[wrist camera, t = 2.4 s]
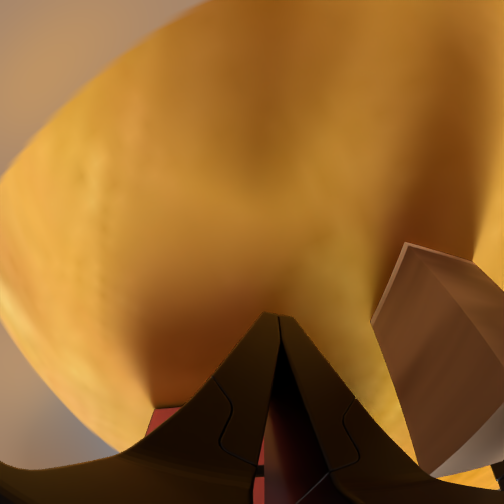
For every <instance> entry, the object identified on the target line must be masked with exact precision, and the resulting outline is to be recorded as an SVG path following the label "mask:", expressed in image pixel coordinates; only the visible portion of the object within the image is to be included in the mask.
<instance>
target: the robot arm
mask: <svg viewBox="0 0 504 504" xmlns="http://www.w3.org/2000/svg"><path fill="white" fill-rule="evenodd" d="M263 437H264V504H504V460H503V461H501V462H498V463H494V464H491V465H490V466H491V468H492V471H493V474H494V477H495V479H496V481H498V484H499V487H500V489H501V491H498V490H491V489H484V488H477V487H471V486H465V485H460V484H455V483H450V482H445V481H441V480H439V479H436V478H434V477H432V476H430V475H429V474H427V473H426V472H425V471H423V470H422V469H421V468H420V467H419V466H418V465H417V464H416V463H415V462H414V461H413V460H412V459H411V458H410V457H409V456H408V455H407V454H406V453H405V452H404V451H403V450H402V449H401V448H400V447H399V446H398V445H397V444H396V443H395V442H394V441H393V440H392V439H391V438H390V437H389V436H388V435H387V434H386V433H385V432H384V431H383V429H382V428H381V427H380V426H379V425H378V424H377V423H376V422H375V421H374V419H373V418H372V417H371V416H370V415H369V413H368V412H367V411H366V410H365V409H364V407H363V406H362V405H361V404H360V402H359V401H358V400H357V399H355V396H354V395H353V393H352V392H351V391H350V390H349V388H348V387H347V386H346V384H345V383H344V382H343V381H342V379H341V378H340V377H339V375H338V374H337V373H336V372H335V370H334V369H333V368H332V366H331V365H330V364H329V363H328V361H327V360H326V359H325V357H324V356H323V355H322V354H321V352H320V351H319V350H318V348H317V347H316V346H315V345H314V343H313V342H312V341H311V339H310V338H309V337H308V336H307V334H306V333H305V332H304V330H303V329H302V328H301V327H300V325H299V324H298V323H297V321H296V320H295V319H294V318H293V317H290V316H285V315H279V316H278V315H277V314H275V313H270V312H262V314H261V315H260V316H259V317H258V319H257V320H256V321H255V322H254V324H253V325H252V326H251V327H250V329H249V330H248V331H247V332H246V334H245V335H244V336H243V337H242V339H241V340H240V341H239V342H238V344H237V345H236V346H235V347H234V349H233V350H232V351H231V352H230V353H229V355H228V356H227V357H226V358H225V360H224V361H223V362H222V363H221V364H220V366H219V367H218V368H217V369H216V370H215V372H214V373H213V374H212V375H211V377H210V378H209V379H208V380H207V381H206V382H205V383H204V385H203V386H202V387H201V388H200V389H199V390H198V391H197V392H196V393H195V394H194V396H193V397H192V398H191V399H190V400H189V401H188V402H186V403H185V404H184V405H183V406H182V407H181V408H180V409H179V410H177V411H176V412H175V413H174V414H173V415H172V416H170V417H169V418H168V419H167V420H165V421H164V422H163V423H162V424H160V425H159V426H158V427H157V428H155V429H154V430H153V431H152V432H150V433H149V434H148V435H146V436H145V437H144V438H143V439H141V440H140V441H139V442H137V443H136V444H135V445H133V446H132V447H130V448H128V449H127V450H125V451H123V452H121V453H119V454H116V455H114V456H110V457H106V458H102V459H97V460H93V461H88V462H83V463H78V464H73V465H67V466H61V467H54V468H48V469H41V470H28V469H20V468H16V467H12V466H10V465H7V464H5V463H3V462H1V461H0V504H253V489H254V481H255V476H256V471H257V466H258V462H259V457H260V452H261V447H262V442H263Z"/></svg>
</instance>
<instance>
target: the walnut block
mask: <svg viewBox="0 0 504 504" xmlns="http://www.w3.org/2000/svg"><path fill="white" fill-rule="evenodd" d="M370 323H371V325H372V328H373V330H374V333H375V335H376V338H377V341H378V343H379V346H380V349H381V351H382V354H383V357H384V359H385V362H386V365H387V367H388V370H389V373H390V376H391V379H392V382H393V384H394V387H395V390H396V393H397V396H398V399H399V402H400V405H401V408H402V411H403V414H404V417H405V421H406V424H407V427H408V430H409V433H410V437H411V440H412V444H413V447H414V450H415V454H416V457H417V461H418V465H419V467H420V468H421V469H422V470H423V471H425V472H426V473H427V474H429V475H430V476H432V477H434V478H438V477H443V476H448V475H453V474H457V473H462V472H466V471H470V470H473V469H477V468H481V467H484V466H488V465H491V464H494V463H498V462H501V461H503V460H504V291H503V290H502V289H501V288H500V287H499V286H498V285H497V284H496V283H495V282H493V281H492V280H491V279H490V278H489V277H488V276H487V275H486V274H485V273H484V272H483V271H482V270H481V269H480V268H479V267H478V266H477V265H476V264H475V263H473V262H472V261H469V260H466V259H463V258H459V257H456V256H453V255H449V254H446V253H443V252H439V251H436V250H432V249H429V248H426V247H422V246H419V245H415V244H411V243H408V242H404V245H403V247H402V250H401V252H400V255H399V257H398V260H397V262H396V265H395V267H394V270H393V272H392V275H391V277H390V279H389V282H388V284H387V286H386V288H385V291H384V293H383V295H382V297H381V300H380V302H379V304H378V306H377V308H376V310H375V313H374V315H373V317H372V319H371V321H370Z"/></svg>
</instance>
